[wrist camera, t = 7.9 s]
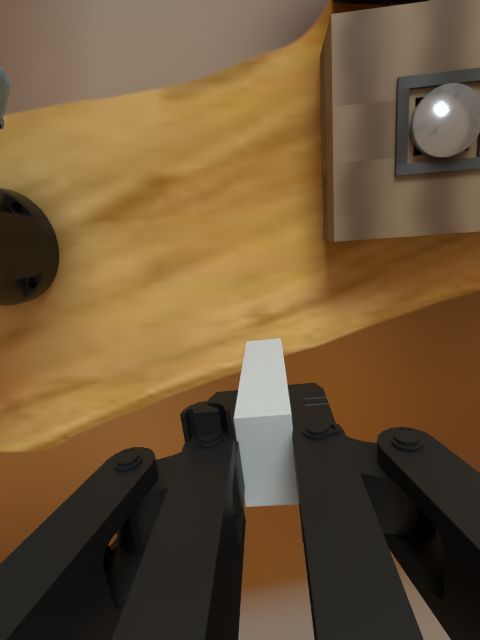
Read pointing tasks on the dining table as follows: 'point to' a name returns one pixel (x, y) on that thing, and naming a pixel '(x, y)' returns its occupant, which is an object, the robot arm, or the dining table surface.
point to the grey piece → (445, 121)
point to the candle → (381, 1)
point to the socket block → (395, 121)
